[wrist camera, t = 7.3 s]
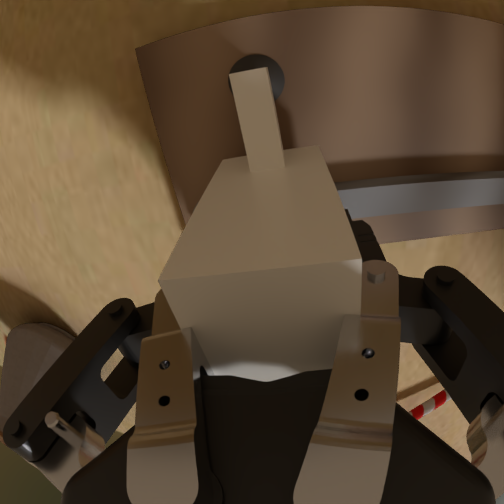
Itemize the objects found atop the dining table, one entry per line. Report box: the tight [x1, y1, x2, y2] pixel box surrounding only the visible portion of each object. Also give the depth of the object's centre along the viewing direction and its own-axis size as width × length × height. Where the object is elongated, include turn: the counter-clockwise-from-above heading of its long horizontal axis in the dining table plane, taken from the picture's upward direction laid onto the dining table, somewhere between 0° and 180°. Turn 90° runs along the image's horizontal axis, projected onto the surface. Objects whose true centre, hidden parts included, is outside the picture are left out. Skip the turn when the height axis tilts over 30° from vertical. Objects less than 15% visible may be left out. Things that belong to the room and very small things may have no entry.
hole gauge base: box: [135, 6, 504, 244], centre depth 10 cm, size 26×12×8 cm, turn 102°
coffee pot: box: [0, 323, 75, 447], centre depth 22 cm, size 21×12×15 cm, turn 75°
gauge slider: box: [158, 67, 362, 382], centre depth 10 cm, size 4×10×9 cm, turn 12°
